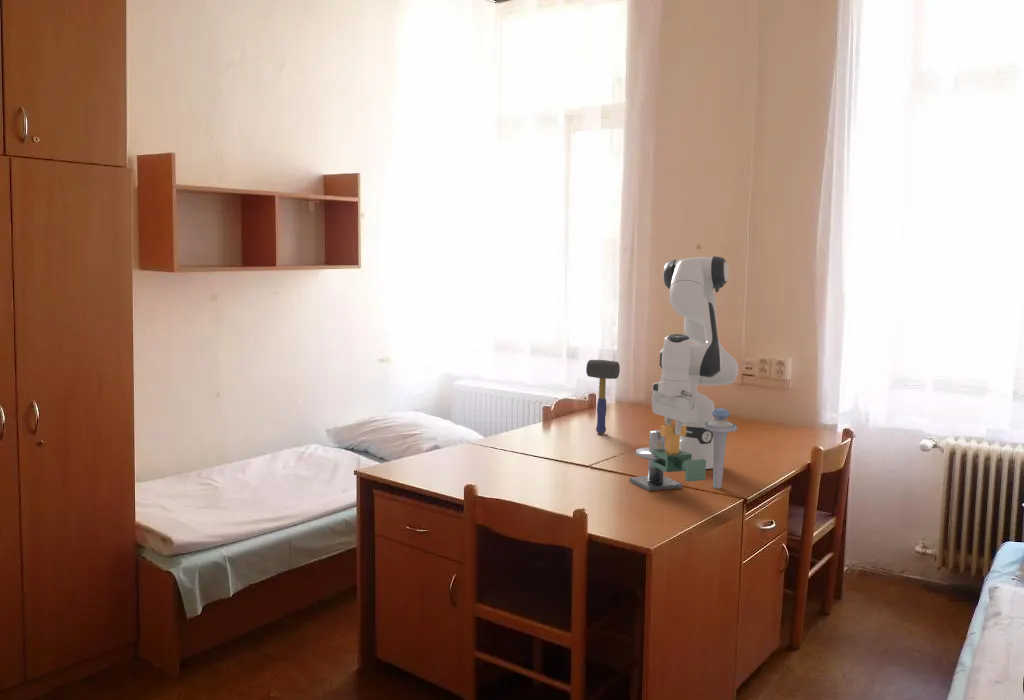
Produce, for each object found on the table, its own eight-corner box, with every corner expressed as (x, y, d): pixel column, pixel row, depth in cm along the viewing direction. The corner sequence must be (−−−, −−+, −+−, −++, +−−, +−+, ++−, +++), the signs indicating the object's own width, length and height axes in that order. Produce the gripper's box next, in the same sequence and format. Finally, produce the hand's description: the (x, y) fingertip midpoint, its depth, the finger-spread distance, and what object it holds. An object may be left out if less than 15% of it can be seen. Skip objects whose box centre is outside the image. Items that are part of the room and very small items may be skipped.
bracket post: (627, 480, 277) (629, 428, 276) (662, 477, 282) (664, 426, 280) (676, 506, 251) (678, 448, 249) (713, 502, 256) (716, 445, 254)
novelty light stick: (733, 484, 275) (737, 407, 273) (733, 493, 266) (737, 413, 263) (701, 482, 278) (705, 405, 275) (700, 490, 268) (704, 410, 266)
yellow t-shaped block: (659, 456, 264) (660, 425, 263) (680, 454, 267) (682, 424, 266) (663, 457, 262) (664, 427, 261) (685, 456, 265) (686, 425, 263)
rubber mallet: (583, 434, 347) (585, 359, 344) (589, 430, 354) (591, 357, 351) (613, 437, 342) (615, 362, 339) (618, 433, 349) (621, 360, 346)
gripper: (703, 393, 254) (701, 439, 255) (666, 383, 272) (664, 426, 274) (685, 394, 251) (683, 441, 253) (648, 383, 270) (647, 427, 272)
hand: (673, 433), depth 263 cm, fingers closed on yellow t-shaped block, 2 cm apart
